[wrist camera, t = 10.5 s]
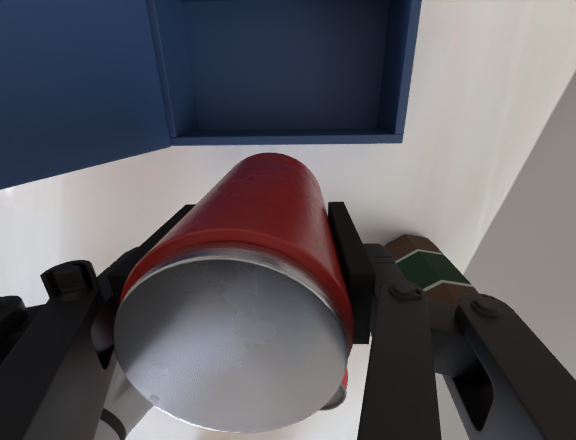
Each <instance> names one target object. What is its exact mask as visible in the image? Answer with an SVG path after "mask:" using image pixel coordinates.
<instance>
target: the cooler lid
mask: <svg viewBox="0 0 576 440" xmlns="http://www.w3.org/2000/svg"><path fill="white" fill-rule="evenodd" d="M168 147H171V145H170V139H169V133H168V127H167V122H166V116H165V110H164V104H163V98H162V93H161V87H160V81H159V75H158V70H157V64H156V58H155V52H154V47H153V41H152V35H151V29H150V24H149V18H148V12H147V6H146V1H145V0H0V190H1V189H5V188H9V187H13V186H17V185H20V184H24V183H28V182H32V181H36V180H40V179H44V178H48V177H52V176H56V175H60V174H64V173H68V172H72V171H76V170H80V169H84V168H88V167H92V166H96V165H100V164H104V163H108V162H112V161H116V160H120V159H124V158H128V157H132V156H136V155H140V154H144V153H148V152H152V151H156V150H160V149H164V148H168Z"/></svg>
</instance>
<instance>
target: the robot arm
mask: <svg viewBox="0 0 576 440" xmlns="http://www.w3.org/2000/svg"><path fill="white" fill-rule="evenodd" d="M195 205H196V204H193V205H185V206H184V207H183V208H182V209H180V210H179V211H178V212H177V213H176V214H175V215H174V216H173V217H172V218H171V219H169V220H168V221H167V222H166V223H165V224H164V225H163V226H162V227H161V228H159V229H158V230H157V231H156V232H155V233H154V234H153V235H152V236H151V237H149V238H148V239H147V240H146V241H145V242H144V243H143V244H142V245H141V246H139V247H135V248H133V249H132V250H130V251H128V252H126V253H124V254H123V255H122V256H121V257H119V258H118V259H117V261H115V262H114V263H113V264H111V265H110V267H108V268H107V269H106V270H104V271H103V272H102V273H101V274H100V275H99V276H97V277H96V274H95V271H94V269H93V266H92V263H91V262H89V261H86V260H76V261H70V262H66V263H63V264H60V265H57V266H54V267H52V268H50V269H48V270H46V271H45V272H44V273H43V274H41V275H40V276H41V279H42V281H43V283H44V286H45V288H46V290H47V293H48V295H49V297H50V299H49V300H48V302H47V303H46V304H43V305H38V306H33V307H27V308H26V307H25V305H24V303H23V301H22V299H21V298H20V297H19V296H5V297H0V440H125V439H126V437H127V435H128V434H129V432H130V431H131V430H132V429H133V428H134V427H135V426H136V425H137V423H138V422H139V421H140V420H141V419H142V418H143V417H144V415H145V414H146V413H147V412H148V411H149V410H150V409H151V408H152V407H153V404H152V403H151V402H149V401H148V400H147V399H146V398H144V397H143V396H142V395H141V394H140V393H139V392H138V391H137V390H136V389H135V388H134V386H133V385H132V384H131V383H130V381H129V380H128V379H127V377H126V376H125V374H124V372H123V371H122V369H121V367H120V365H119V362H118V360H117V357H116V354H115V350H114V345H113V325H114V320H115V316H116V313H117V310H118V308H119V306H120V298H121V294H122V290H123V287H124V284H125V282H126V280H127V278H128V276H129V274H130V272H131V271H132V270H133V268H134V267H135V265H136V264H137V263H138V262H139V261H140V260H141V259H142V258H143V257H144V256H145V255H146V254H147V253H148V252H149V251H150V250H151V249H152V248H153V247H154V246H155V245H156V244H157V243H158V242H159V241H160V240H161V239H162V238H163V237H164V236H165V235H166V234H167V233H168V232H169V231H170V230H171V229H172V228H173V227H174V226H175V225H176V224H177V223H178V222H179V221H180V220H181V219H182V218H183V217H184V216H185V215H186V214H187V213H188V212H189V211H190V210H191V209H192V208H193V207H194V206H195ZM328 219H329V223H330V227H331V231H332V235H333V239H334V243H335V246H336V250H337V254H338V258H339V262H340V266H341V269H342V273H343V277H344V281H345V285H346V289H347V292H348V296H349V300H350V304H351V308H352V312H353V318H354V339H353V344H369V338H370V332H371V335H372V343H371V349H370V356H369V363H368V370H367V376H366V383H365V390H364V396H363V403H362V410H361V417H360V423H359V430H358V437H357V440H441V431H440V420H439V410H438V401H437V390H436V380H435V373H439V374H443V377H444V380H445V382H446V384H447V387H448V389H449V391H450V394H451V396H452V399H453V401H454V404H455V406H456V408H457V411H458V413H459V416H460V418H461V420H462V422H463V425H464V427H465V430H466V432H467V435H468V437H469V440H576V380H575V379H574V378H573V377H572V376H571V375H570V373H569V372H568V371H567V370H566V369H565V368H564V367H563V365H562V364H561V363H560V362H559V361H558V360H557V359H556V358H555V356H554V355H553V354H552V353H551V352H550V351H549V350H548V349H547V347H546V346H545V345H544V344H543V343H542V342H541V341H540V340H539V338H538V337H537V336H536V335H535V334H534V333H533V332H532V331H531V329H530V328H529V327H528V326H527V325H526V324H525V323H524V322H523V320H522V319H521V318H520V317H519V316H518V315H517V314H516V313H515V311H514V310H513V309H512V308H510V307H509V306H508V305H507V304H506V303H504V302H502V301H500V300H498V299H496V298H494V297H492V296H488V295H485V294H479V293H466V294H464V295H461V296H460V298H459V300H458V303H457V305H455V304H450V303H445V302H439V301H435V300H432V299H429V298H427V295H426V293H425V291H424V290H423V289H422V288H421V287H419V286H418V285H416V284H414V283H412V282H408V281H407V280H406V278H405V277H404V275H403V273H402V272H401V270H400V268H399V267H398V265H397V264H396V262H395V260H394V259H393V258H392V255H391V254H390V252H389V251H388V249H386V248H385V247H383V246H382V245H381V244H362V242H361V239H360V237H359V235H358V233H357V231H356V228H355V226H354V224H353V222H352V220H351V217H350V215H349V213H348V211H347V209H346V206H345V204H344V202H328Z"/></svg>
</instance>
